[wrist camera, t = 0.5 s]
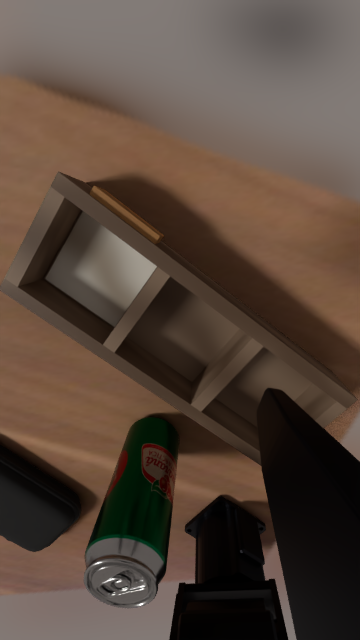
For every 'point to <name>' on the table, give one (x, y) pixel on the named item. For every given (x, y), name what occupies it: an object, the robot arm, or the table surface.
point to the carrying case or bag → (33, 504)
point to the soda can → (135, 518)
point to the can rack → (160, 316)
